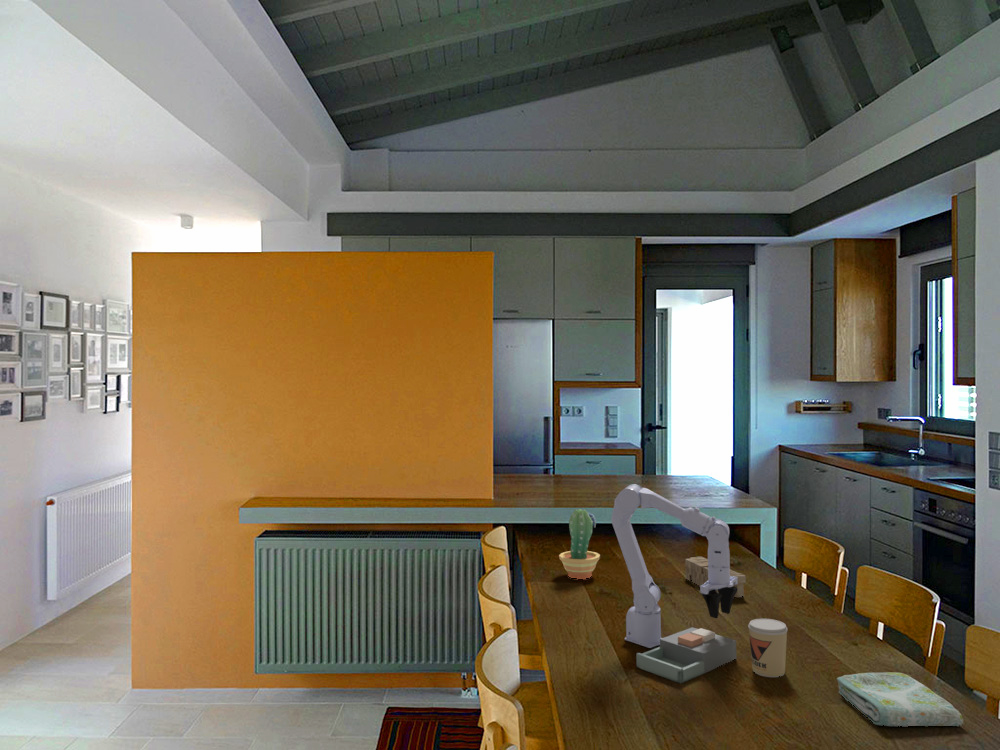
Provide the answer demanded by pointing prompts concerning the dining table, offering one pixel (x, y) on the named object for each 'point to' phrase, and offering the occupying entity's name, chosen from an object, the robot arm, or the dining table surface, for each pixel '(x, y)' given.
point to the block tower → (699, 573)
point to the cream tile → (704, 634)
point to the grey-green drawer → (668, 666)
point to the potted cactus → (580, 546)
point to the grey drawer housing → (699, 650)
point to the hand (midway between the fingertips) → (719, 615)
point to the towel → (897, 700)
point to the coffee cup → (768, 647)
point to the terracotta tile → (690, 639)
